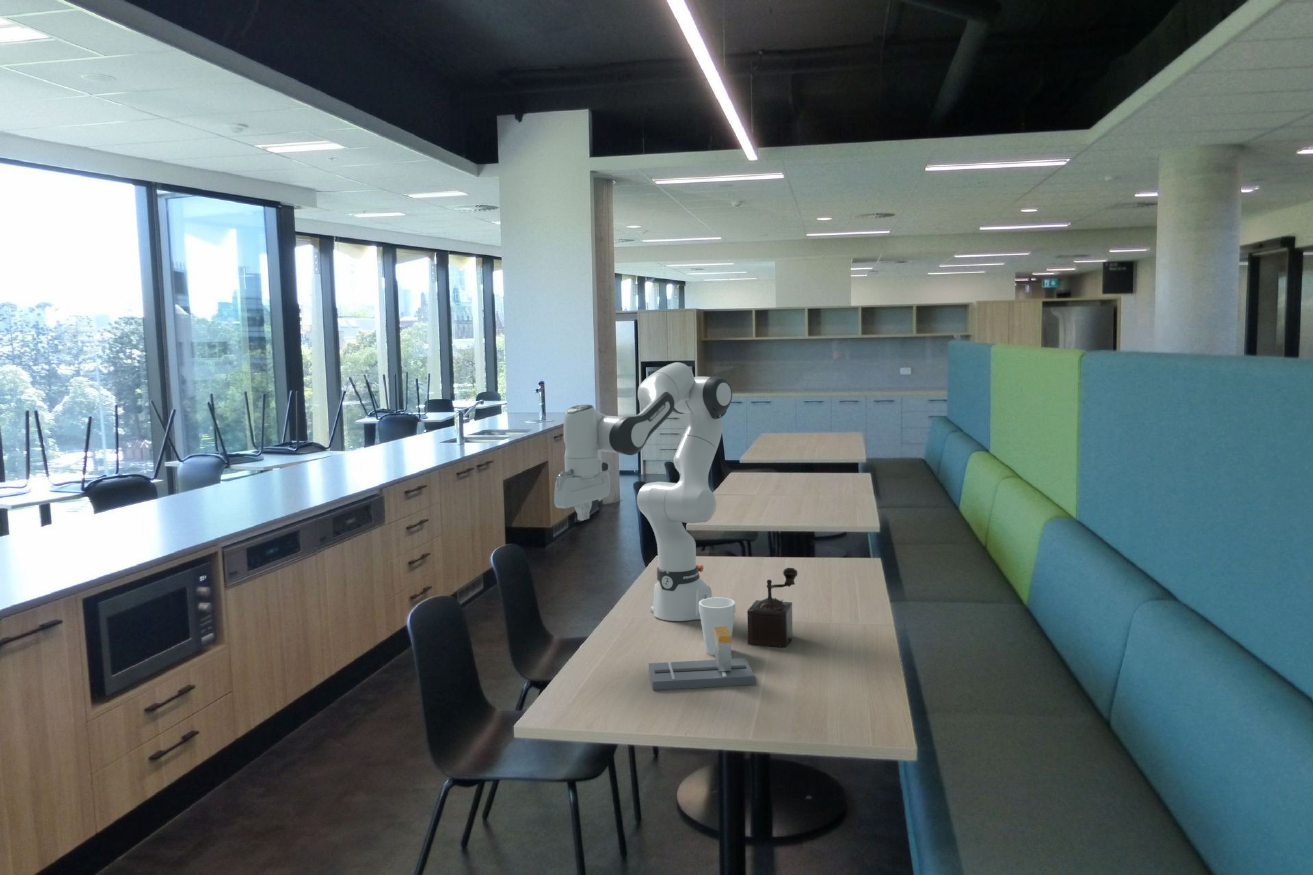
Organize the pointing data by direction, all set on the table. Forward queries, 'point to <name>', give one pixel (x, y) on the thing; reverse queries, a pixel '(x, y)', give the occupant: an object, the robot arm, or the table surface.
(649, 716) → the table surface
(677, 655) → the table surface
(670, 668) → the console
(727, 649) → the plate
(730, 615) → the foam cup
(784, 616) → the manual coffee grinder
